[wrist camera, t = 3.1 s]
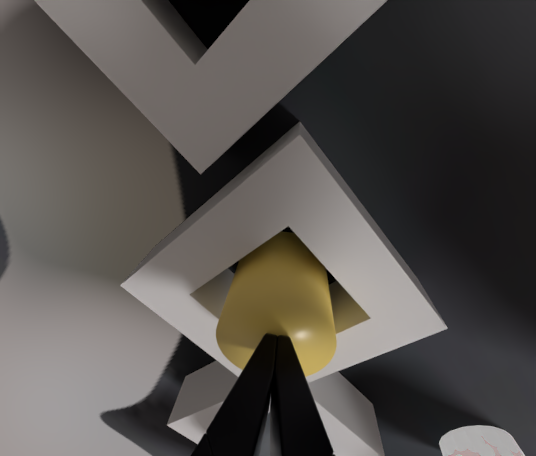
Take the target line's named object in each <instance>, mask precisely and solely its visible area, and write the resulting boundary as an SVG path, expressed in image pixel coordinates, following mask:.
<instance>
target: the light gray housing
mask: <svg viewBox="0 0 536 456" xmlns="http://www.w3.org/2000/svg"><path fill="white" fill-rule="evenodd" d="M237 379H238V376H236V375H235V374H234V373H232V372H231V371H230V370H229V369H227V368H226V367H225V366H223V365H222V364H221V363H220V362H218V361H217V360H216V361H214V362H213V363H211V364H209V365H207V366H205V367H203V368H201V369H199V370H197V371H195V372H193V373H191V374H189V375H187V376H186V377H185V379H184V382H183V384H182V387H181V389H180V392H179V395H178V397H177V400H176V402H175V405H174V407H173V410H172V413H171V415H170V418H169V420H168V423H167V426H169V427H170V428H172V429H174V430H175V431H177V432H179V433H180V434H182V435H183V436H185V437H187V438H188V439H190V440H191V441H193V442H195V443H196V444H198V443H199V441H200V440H201V438H202V436H203V435H204V434H205V433H206V430H207V428H208V427H209V425H210V423H211V422H212V420H213V419H214V417H215V415H216V414H217V412H218V410H219V409H220V407H221V405H222V404H223V402H224V400H225V399H226V397H227V395H228V394H229V392H230V390H231V389H232V387H233V385H234V384H235V382H236V380H237ZM308 385H309V388H310V390H311V393H312V396H313V398H314V401H315V403H316V406H317V409H318V411H319V414H320V417H321V419H322V422H323V424H324V427H325V430H326V432H327V435H328V438H329V440H330V443H331V445H332V448H333V451H334V452H333V454H335V456H385V455H384V451H383V447H382V442H381V438H380V433H379V429H378V425H377V420H376V416H375V412H374V407H373V404H372V403H371V402H370V401H369V400H368V399H367V398H366V397H365V396H364V395H363V394H362V393H360V392H359V391H358V390H357V389H356V388H355V387H354V386H353V385H352V384H351V383H350V382H349V381H348V380H347V379H346V378H344V377H343V376H342V375H341V374H340V373H339V372H338V371H337V372H335V373H332V374H330V375H327V376H324V377H322V378H319V379H317V380H314V381H312V382H309V383H308ZM270 399H271V398H270ZM269 412H270V406H269V411H268V413H269Z"/></svg>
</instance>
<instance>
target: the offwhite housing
mask: <svg viewBox="0 0 536 456" xmlns="http://www.w3.org/2000/svg"><path fill="white" fill-rule="evenodd" d="M34 1H35V2H36V3H37V4H38V5H39V6H40V7H41V8H42V9H43V10H44V11H45V12H46V13H47V14H48V16H50V18H51V19H52V20H53V21H54V22H55V23H56V24H57V25H58V26H59V27H60V28H61V29H62V30H63V31H64V32H65V33H66V34H67V35H68V36H69V37H70V38H71V39H72V40H73V42H74V43H76V45H77V46H78V47H79V48H80V49H81V50H82V51H83V52H84V53H85V54H86V55H87V56H88V57H89V58H90V59H91V60H92V62H94V64H95V65H96V66H97V67H98V68H99V69H100V70H101V71H102V72H103V73H104V74H105V75H106V76H107V77H108V78H109V79H110V80H111V81H112V82H113V83H114V85H116V87H117V88H118V89H119V90H120V91H121V92H122V93H123V94H124V95H125V96H126V97H127V98H128V99H129V100H130V101H131V102H132V103H133V104H134V105H135V106H136V108H137V109H138V110H140V112H141V113H142V114H143V115H144V116H145V117H146V118H147V119H148V120H149V121H150V122H151V123H152V124H153V125H154V126H155V127H156V128H157V129H158V130H159V132H160V133H161V134H162V135H163V136H164V137H165V138H166V139H167V140H168V141H169V142H170V143H171V144H172V145H173V146H174V147H175V148H176V149H177V150H178V151H179V152H180V154H181V155H182V156H183V157H184V158H185V159H186V160H187V161H188V162H189V163H190V164H191V165H192V166H193V167H194V168H195V169H196V170H197V171H198V172H199V173H200V174H202V173H203V172H204V171H205V170H206V169H207V168H208V167H209V166H210V165H211V164H212V163H214V162H215V161H216V160H217V159H218V158H219V157H220V156H221V155H222V154H223V153H225V152H226V151H227V150H228V149H229V148H230V147H231V146H232V145H233V144H234V143H235V142H236V141H237V140H238V139H240V138H241V137H242V136H243V135H244V134H245V133H246V132H247V131H248V130H249V129H250V128H251V127H252V126H253V125H255V124H256V123H257V122H258V121H259V120H260V119H261V118H262V117H263V116H264V115H265V114H266V113H267V112H268V111H270V110H271V109H272V108H273V107H274V106H275V105H276V104H277V103H278V102H279V101H280V100H281V99H282V98H283V97H285V96H286V95H287V94H288V93H289V92H290V91H291V90H292V89H293V88H294V87H295V86H296V85H297V84H298V83H300V82H301V81H302V80H303V79H304V78H305V77H306V76H307V75H308V74H309V73H310V72H311V71H312V70H313V69H315V68H316V67H317V66H318V65H319V64H320V63H321V62H322V61H323V60H324V59H325V58H326V57H327V56H328V55H330V54H331V53H332V52H333V51H334V50H335V49H336V48H337V47H338V46H339V45H340V44H341V43H342V42H343V41H345V40H346V39H347V38H348V37H349V36H350V35H351V34H352V33H353V32H354V31H355V30H356V29H357V28H358V27H360V26H361V25H362V24H363V23H364V22H365V21H366V20H367V19H368V18H369V17H370V16H371V15H372V14H373V13H375V12H376V11H377V10H378V9H379V8H380V7H381V6H382V5H383V4H384V3H385V2H386V1H387V0H249V2H248V3H247V4H246V5H245V6H244V8H243V9H242V10H241V11H240V12H239V14H238V15H237V16H236V17H235V18H234V19H233V21H232V22H231V23H230V24H229V25H228V27H227V28H226V29H225V30H224V31H223V33H222V34H221V35H220V36H219V37H218V38H217V40H216V41H215V42H214V43H213V44H212V46H211V47H210V48H209V49H207V48H206V47H205V46H204V44H203V43H202V42H201V41H200V39H199V38H198V37H197V36H196V34H195V33H194V32H193V31H192V29H191V28H190V27H189V26H188V24H187V23H186V22H185V20H184V19H183V18H182V17H181V15H180V14H179V13H178V12H177V10H176V9H175V8H174V7H173V5H172V4H171V3H170V2H169V0H34Z"/></svg>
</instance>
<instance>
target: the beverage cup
mask: <svg viewBox="0 0 536 456" xmlns="http://www.w3.org/2000/svg"><path fill="white" fill-rule="evenodd" d="M439 445H440V448H441V451H442V454H443V456H525V455H524V453H523V452H522V450H521V449H520V448H519V446H518V445H517V443H516V442H515V440H514V439H513V437H512V436H511V435H510V434H509V433H508V432H506V431H505V430H502V429H499V428H496V427H493V426H482V425H476V426H466V427H461V428H458V429H455V430H452V431H450V432H448V433H447V434H445V435H444V436H442V438H441V440H440V442H439Z"/></svg>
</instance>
